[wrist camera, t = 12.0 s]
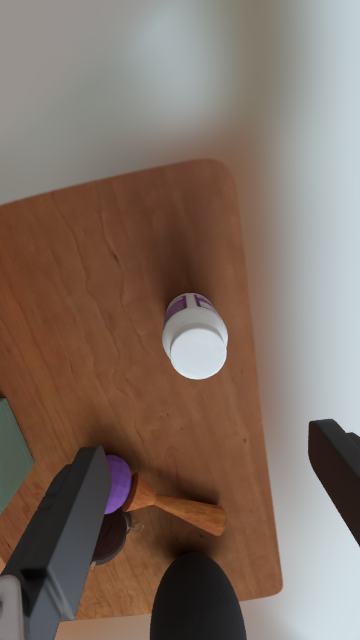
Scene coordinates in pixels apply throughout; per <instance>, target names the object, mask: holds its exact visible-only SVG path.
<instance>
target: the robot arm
mask: <svg viewBox="0 0 360 640" xmlns="http://www.w3.org/2000/svg"><path fill="white" fill-rule="evenodd" d="M308 439H309V440H308V455H309V460H310V463H311V466H312V468H313V470H314V472H315V473H316V475H317V477H318V478H319V480H320V482H321V483H322V485H323V487H324V488H325V490H326V492H327V493H328V495H329V497H330V498H331V500H332V502H333V503H334V505H335V507H336V508H337V510H338V512H339V513H340V515H341V517H342V518H343V520H344V521H345V523H346V525H347V526H348V528H349V530H350V531H351V533H352V535H353V536H354V538H355V540H356V541H357V543H358V544H359V546H360V437H359V436H358V435H356V434H355V433H353V432H351V433H345V431H344V430H343V429H342V428H341V427H340V426H339V425H338V424H337V422H336V421H334V420H333V419H324V420H316V421H310V422H309V436H308ZM111 487H112V476H111V472H110V468H109V465H108V462H107V459H106V455H105V452H104V449H103V447H102V446H101V445H99V446H90V447H82V448H80V449H79V451H78V453H77V455H76V457H75V459H74V461H73V463H72V464H67V465H65V467H64V468H63V469H62V470H61V471H60V472H59V473H58V474H57V475H56V476H55V477H54V479H53V481H52V482H51V484H50V486H49V488H48V490H47V492H46V493H45V497H43V499H42V501H41V502H40V504H39V506H38V510H37V511H36V512H35V513H34V515H33V517H32V519H31V521H30V522H29V524H28V526H27V528H26V530H25V532H24V533H23V535H22V537H21V539H20V541H19V542H18V544H17V546H16V548H15V550H14V552H13V553H12V555H11V557H10V559H9V561H8V563H7V564H6V566H5V568H4V570H3V571H2V573H1V574H0V640H54V638H55V635H56V632H57V629H58V626H59V623H60V622H64V621H74V620H75V616H76V613H77V609H78V606H79V602H80V599H81V595H82V592H83V588H84V585H85V581H86V577H87V574H88V570H89V567H90V563H91V560H92V556H93V553H94V549H95V546H96V542H97V539H98V535H99V532H100V528H101V525H102V521H103V518H104V514H105V511H106V507H107V503H108V500H109V496H110V493H111Z"/></svg>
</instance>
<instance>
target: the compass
mask: <svg viewBox="0 0 360 640" xmlns="http://www.w3.org/2000/svg"><path fill="white" fill-rule="evenodd" d="M134 524H140V525H142V524H141V523H138V522H137V523H133V524H132V525H131V518H130V516H129V515H128V513H127V512H123V510H122V509H121V508H118V509H116V510H115V511H114V512H112V513H108V514H104V518H103V521H102V525H101V528H100V532H99V535H98V539H97V542H96V546H95V549H94V553H93V556H92V560H91V563H90V565H91V567H92V569H94V568H93V567H94V565H102V564H104V563H106V562H109V561H110V560H112V559H113V558H114V557H115V556H117V554H118V553H119V552H120V551H121V549H122V548H123V545H124V543H125V541H126V535H127V534H128V533H129V531H130V529H132V530H133V531H135V532H140V531H142V530H143V528H144V526H143V525H142V527H143V528H142V529H141V530H138V531H137V530H134V529H135V525H134Z"/></svg>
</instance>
